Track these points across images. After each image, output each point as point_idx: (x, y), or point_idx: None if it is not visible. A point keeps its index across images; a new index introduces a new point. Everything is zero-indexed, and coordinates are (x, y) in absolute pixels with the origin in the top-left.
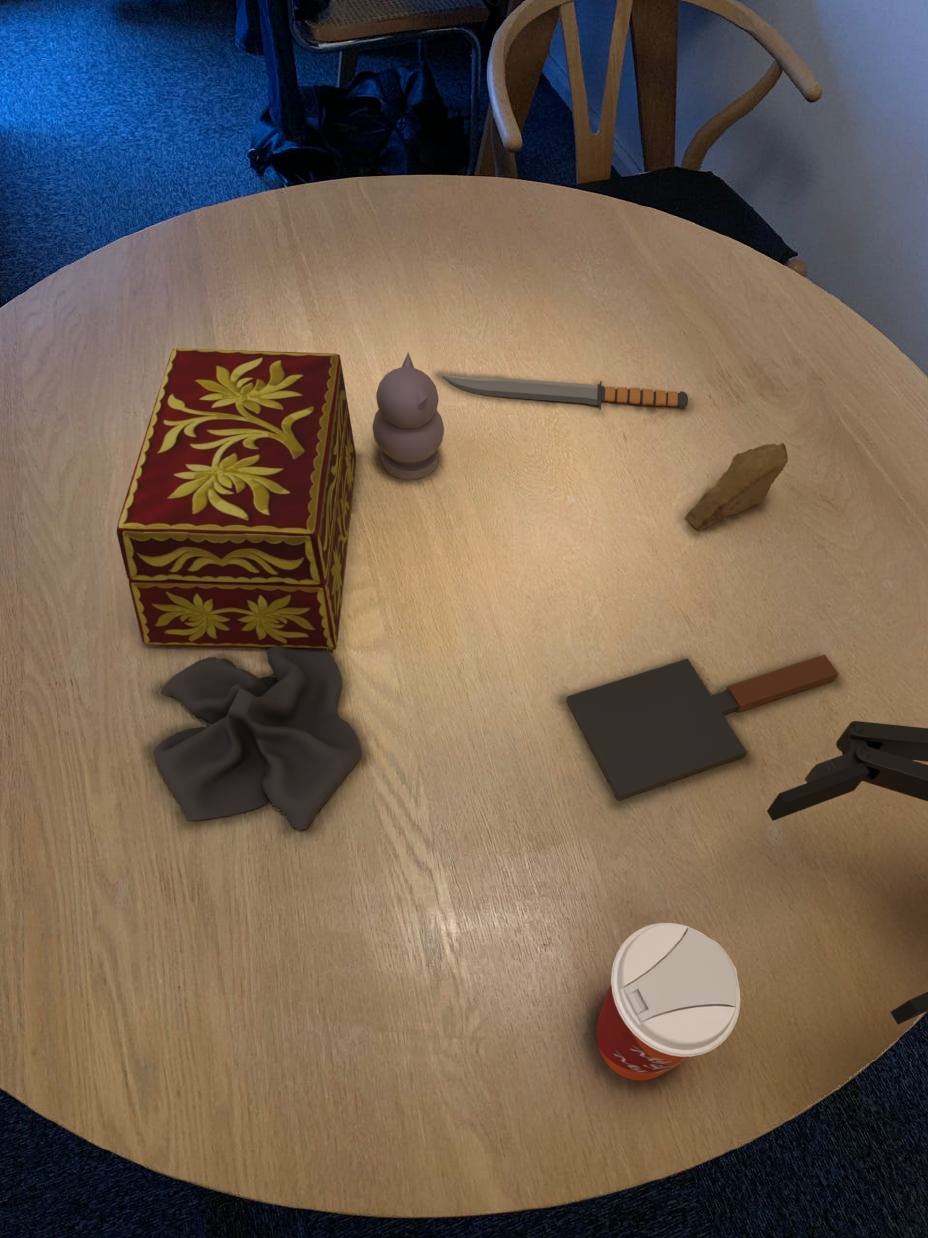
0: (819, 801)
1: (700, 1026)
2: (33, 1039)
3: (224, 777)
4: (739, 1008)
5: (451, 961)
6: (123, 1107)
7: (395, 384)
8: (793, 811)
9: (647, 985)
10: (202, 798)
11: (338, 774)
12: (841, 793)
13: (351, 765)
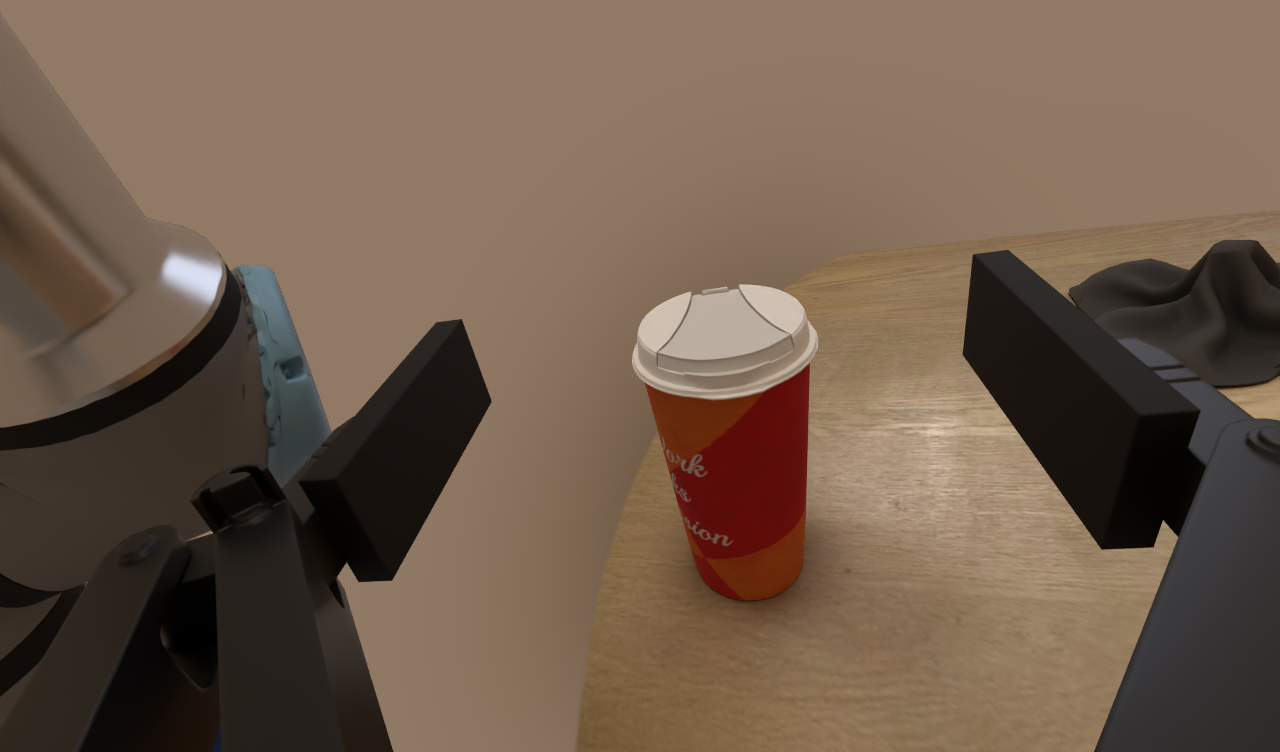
0: (1026, 422)
1: (656, 324)
2: (872, 255)
3: (1131, 300)
4: (660, 389)
5: (890, 425)
6: (815, 282)
7: None
8: (986, 370)
9: (729, 297)
10: (1097, 289)
11: None
12: (1068, 479)
13: None
